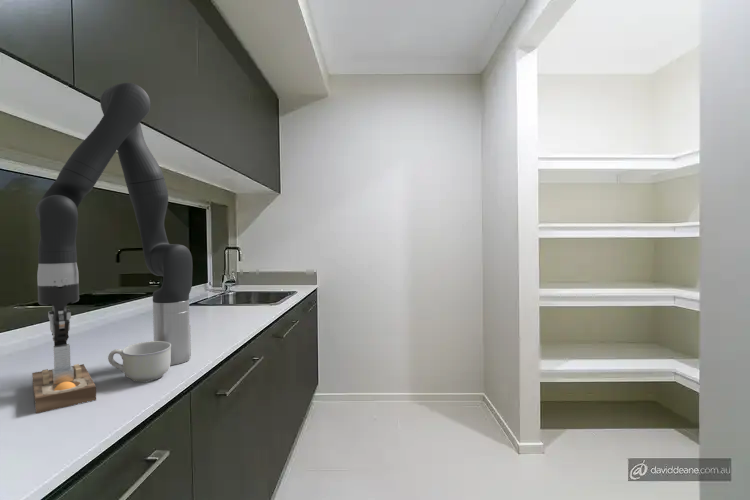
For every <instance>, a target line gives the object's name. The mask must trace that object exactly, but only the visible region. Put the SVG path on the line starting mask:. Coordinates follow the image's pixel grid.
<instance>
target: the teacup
mask: <svg viewBox="0 0 750 500" xmlns="http://www.w3.org/2000/svg"><path fill="white" fill-rule="evenodd" d="M115 354H116V355H120V357H121V359H122V364H121V363H119V362H117V361H116V360H115V359H114V356H115ZM107 357H108V358H107V360H108V362H109V364H110V365H111V366H112V367H114V368H116V369H119V370H120V371H121V372H122V373H124V375H125V377H127V378H129V379H131V380H132V381H134V382H136V383H146V381H147V382H151V381H155V380H157V379H160V378H162V377H163V376H164V374H166V373H167V372H168V371H169V370H170V367H171V365H170V364H171V344H170V343H168V342H163V341H154V340H151V341H150V340H149V341H143V342H137V343H134V344H130V345H127V346H126V347H124V348H123V349H120V348H116V349H114V350H111V351H110V353H109V354H108V356H107Z"/></svg>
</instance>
